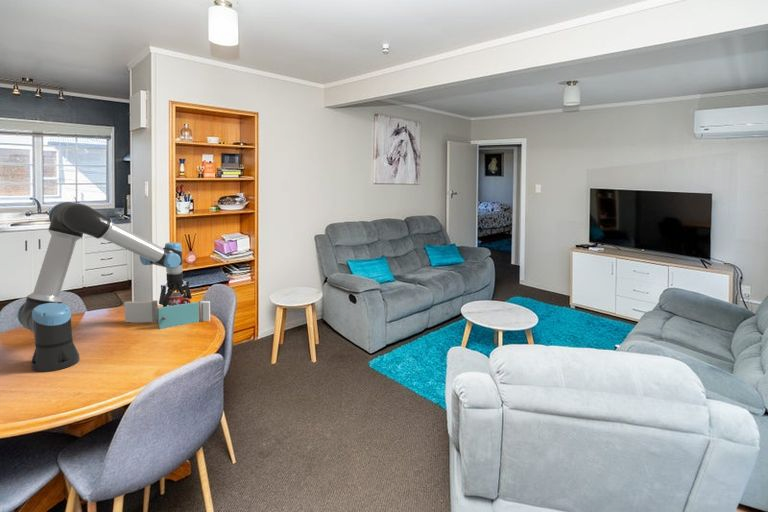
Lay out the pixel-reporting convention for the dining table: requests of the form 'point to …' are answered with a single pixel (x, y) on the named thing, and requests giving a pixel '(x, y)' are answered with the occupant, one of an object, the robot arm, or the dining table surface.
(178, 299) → the mug
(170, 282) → the robot arm
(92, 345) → the dining table surface
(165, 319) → the door
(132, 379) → the dining table surface
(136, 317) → the wall frame
